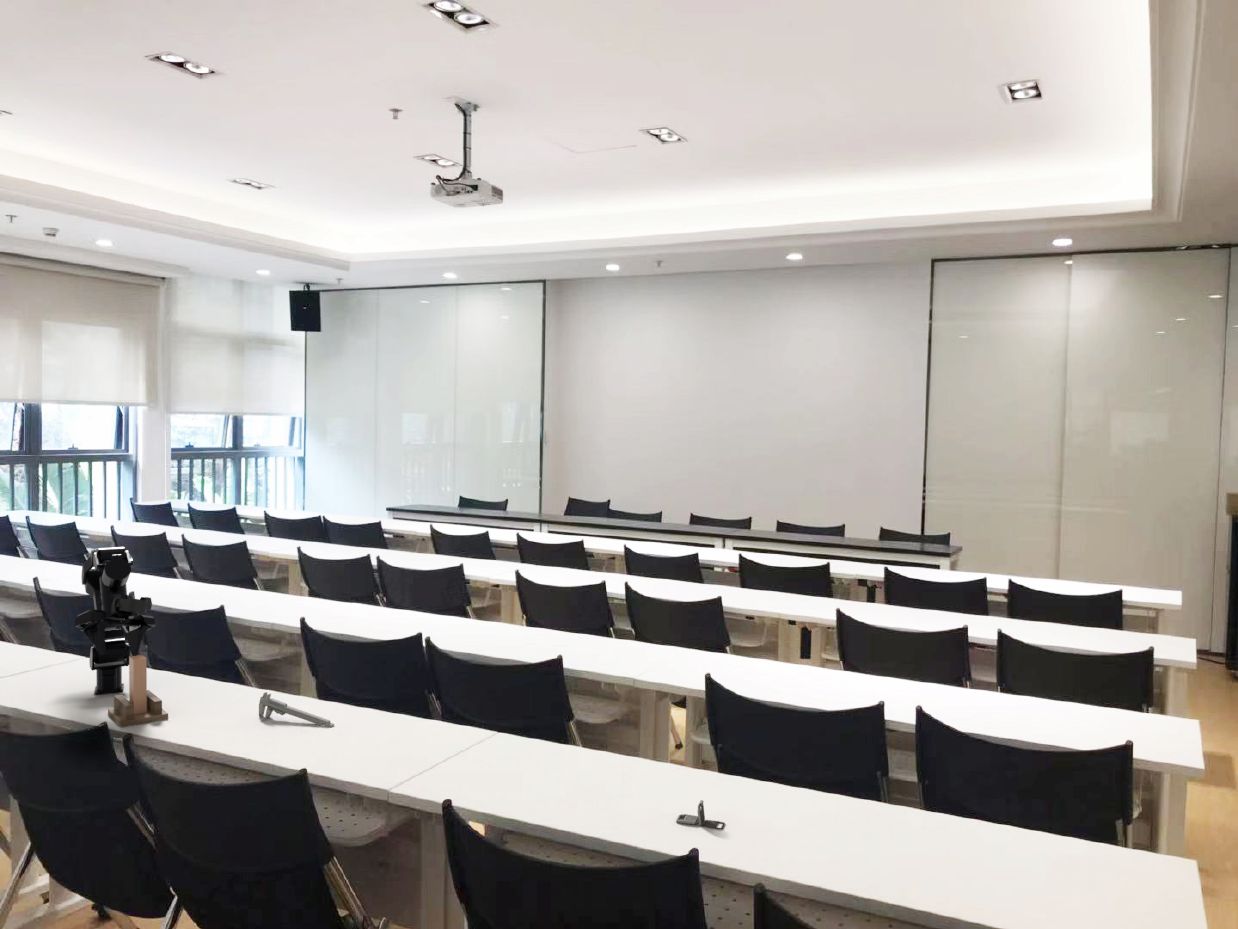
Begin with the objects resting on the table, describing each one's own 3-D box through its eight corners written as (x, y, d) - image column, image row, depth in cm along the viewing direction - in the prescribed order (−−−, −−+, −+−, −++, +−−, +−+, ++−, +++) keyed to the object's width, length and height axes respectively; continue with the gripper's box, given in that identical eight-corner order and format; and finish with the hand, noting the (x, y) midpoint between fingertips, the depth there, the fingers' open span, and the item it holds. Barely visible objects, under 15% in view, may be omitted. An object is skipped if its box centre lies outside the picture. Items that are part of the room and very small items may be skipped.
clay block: (129, 710, 218) (129, 656, 218) (142, 708, 220) (142, 654, 220) (133, 714, 216) (133, 659, 215) (146, 712, 218) (146, 657, 217)
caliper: (258, 718, 219) (258, 692, 219) (261, 717, 220) (261, 691, 220) (332, 728, 213) (332, 701, 213) (335, 726, 214) (335, 700, 214)
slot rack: (108, 714, 219) (107, 696, 219) (153, 706, 226) (153, 688, 226) (121, 727, 210) (121, 708, 210) (168, 718, 217) (168, 700, 217)
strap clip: (675, 825, 165) (675, 802, 164) (679, 818, 168) (679, 795, 167) (722, 832, 162) (722, 808, 162) (725, 825, 165) (725, 801, 165)
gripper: (105, 578, 219) (111, 641, 214) (168, 588, 236) (175, 646, 230) (71, 594, 222) (75, 657, 216) (135, 602, 239) (141, 661, 233)
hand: (119, 655), depth 224 cm, fingers open, 9 cm apart
